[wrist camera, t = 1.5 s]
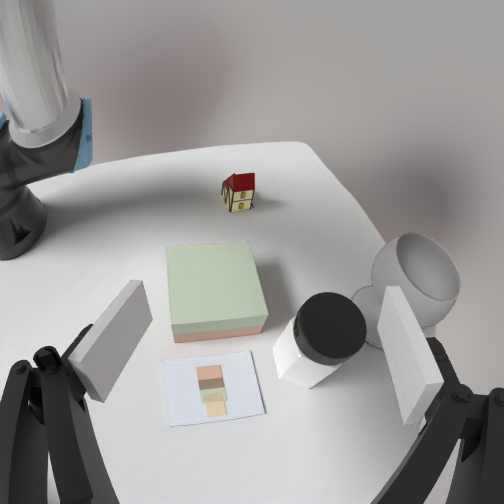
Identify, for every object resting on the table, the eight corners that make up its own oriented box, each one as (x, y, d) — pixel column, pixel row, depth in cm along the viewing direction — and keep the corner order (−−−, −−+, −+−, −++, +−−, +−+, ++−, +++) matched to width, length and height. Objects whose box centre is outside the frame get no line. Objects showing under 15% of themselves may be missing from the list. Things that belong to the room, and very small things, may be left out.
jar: (303, 322, 44) (333, 277, 35) (340, 360, 41) (381, 325, 31) (259, 356, 39) (280, 318, 30) (298, 400, 36) (334, 376, 27)
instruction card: (161, 361, 36) (161, 360, 36) (249, 351, 40) (250, 350, 39) (170, 426, 31) (170, 426, 31) (264, 413, 34) (264, 413, 34)
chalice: (382, 372, 40) (444, 329, 29) (327, 307, 46) (369, 247, 35) (423, 324, 47) (476, 277, 35) (375, 271, 53) (416, 214, 41)
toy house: (235, 219, 56) (240, 184, 49) (213, 199, 58) (217, 165, 52) (257, 208, 59) (265, 174, 52) (236, 189, 61) (241, 156, 55)
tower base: (168, 270, 46) (166, 246, 41) (243, 265, 49) (248, 241, 44) (174, 342, 38) (171, 324, 34) (259, 333, 42) (268, 314, 37)
